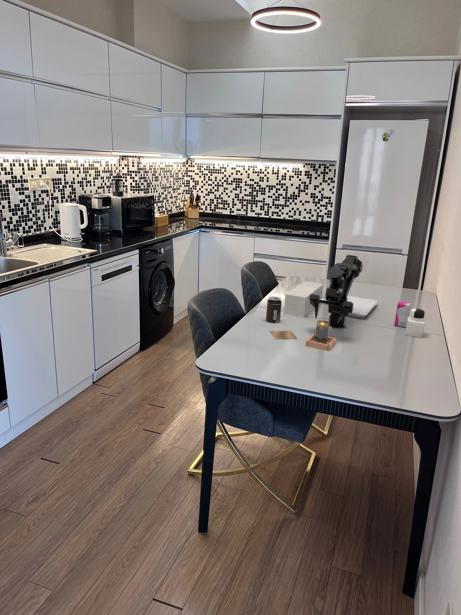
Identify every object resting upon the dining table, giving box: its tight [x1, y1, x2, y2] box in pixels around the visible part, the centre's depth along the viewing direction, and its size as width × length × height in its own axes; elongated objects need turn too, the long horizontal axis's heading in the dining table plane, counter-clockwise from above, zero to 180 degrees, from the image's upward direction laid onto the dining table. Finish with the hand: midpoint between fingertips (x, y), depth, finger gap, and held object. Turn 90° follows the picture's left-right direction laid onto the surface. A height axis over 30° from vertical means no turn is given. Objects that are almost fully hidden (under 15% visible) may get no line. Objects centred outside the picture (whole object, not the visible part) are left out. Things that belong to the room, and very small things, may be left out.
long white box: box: [283, 280, 324, 319], centre depth 242 cm, size 32×11×11 cm, turn 154°
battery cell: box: [314, 319, 330, 344], centre depth 191 cm, size 5×5×10 cm
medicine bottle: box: [405, 308, 426, 338], centre depth 212 cm, size 7×7×12 cm
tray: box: [346, 295, 379, 319], centre depth 245 cm, size 17×32×4 cm, turn 153°
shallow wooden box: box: [305, 333, 337, 352], centre depth 192 cm, size 10×10×3 cm
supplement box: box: [393, 301, 412, 329], centre depth 223 cm, size 6×6×12 cm
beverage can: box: [265, 295, 283, 324], centre depth 217 cm, size 7×7×12 cm
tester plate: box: [269, 330, 298, 341], centre depth 201 cm, size 10×10×1 cm
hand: (326, 320), depth 198 cm, fingers open, 9 cm apart
